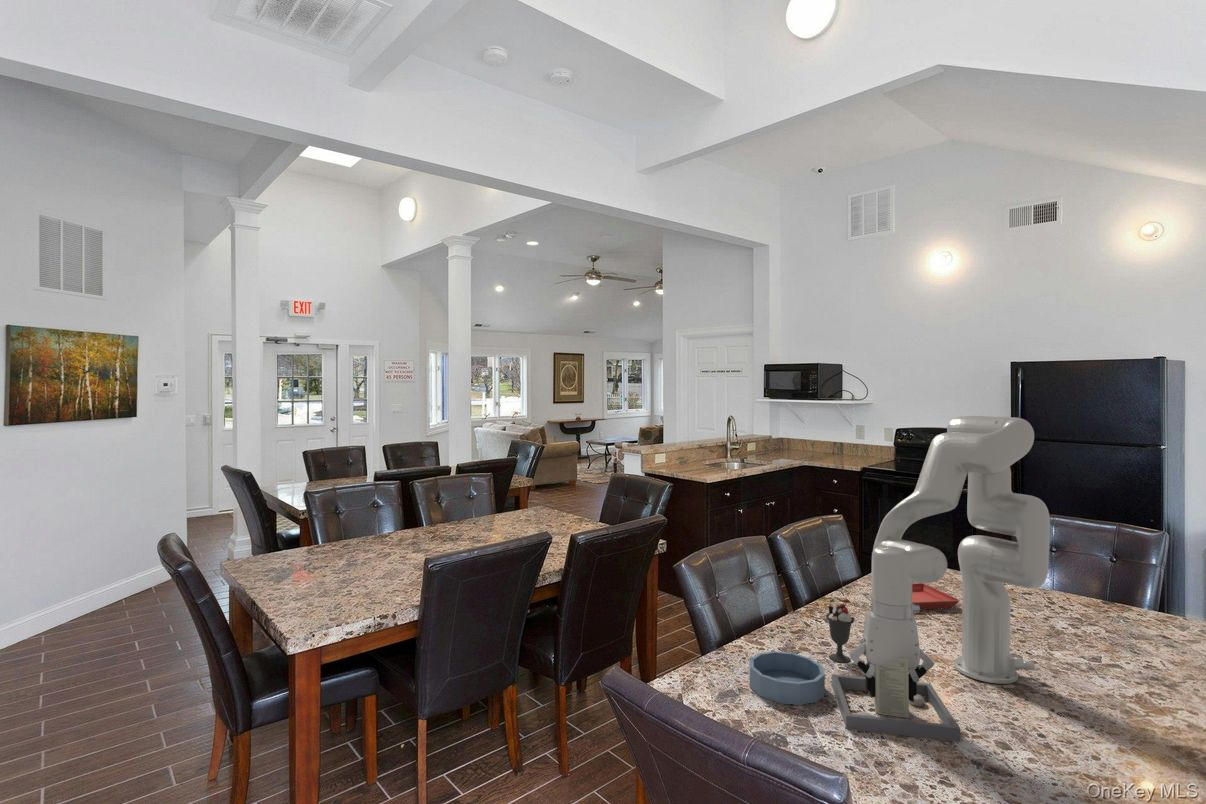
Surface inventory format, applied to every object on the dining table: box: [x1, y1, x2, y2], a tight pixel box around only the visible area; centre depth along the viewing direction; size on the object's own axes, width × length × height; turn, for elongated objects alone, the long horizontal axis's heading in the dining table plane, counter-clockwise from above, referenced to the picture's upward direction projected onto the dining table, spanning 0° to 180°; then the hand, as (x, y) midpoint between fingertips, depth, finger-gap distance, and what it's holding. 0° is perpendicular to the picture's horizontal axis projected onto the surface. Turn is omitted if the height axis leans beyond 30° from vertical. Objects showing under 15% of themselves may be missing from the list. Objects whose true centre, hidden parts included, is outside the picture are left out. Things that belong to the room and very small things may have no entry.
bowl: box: [749, 650, 826, 706], centre depth 134 cm, size 16×16×4 cm
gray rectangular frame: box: [831, 673, 962, 743], centre depth 124 cm, size 20×18×2 cm
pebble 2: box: [909, 694, 925, 708], centre depth 127 cm, size 3×3×1 cm
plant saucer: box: [912, 583, 961, 610], centre depth 191 cm, size 18×18×3 cm
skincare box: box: [873, 658, 910, 719], centre depth 123 cm, size 6×4×12 cm
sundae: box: [825, 598, 856, 664], centre depth 148 cm, size 7×7×15 cm
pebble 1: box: [855, 711, 873, 716], centre depth 119 cm, size 3×3×1 cm
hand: (890, 695), depth 124 cm, fingers open, 6 cm apart
